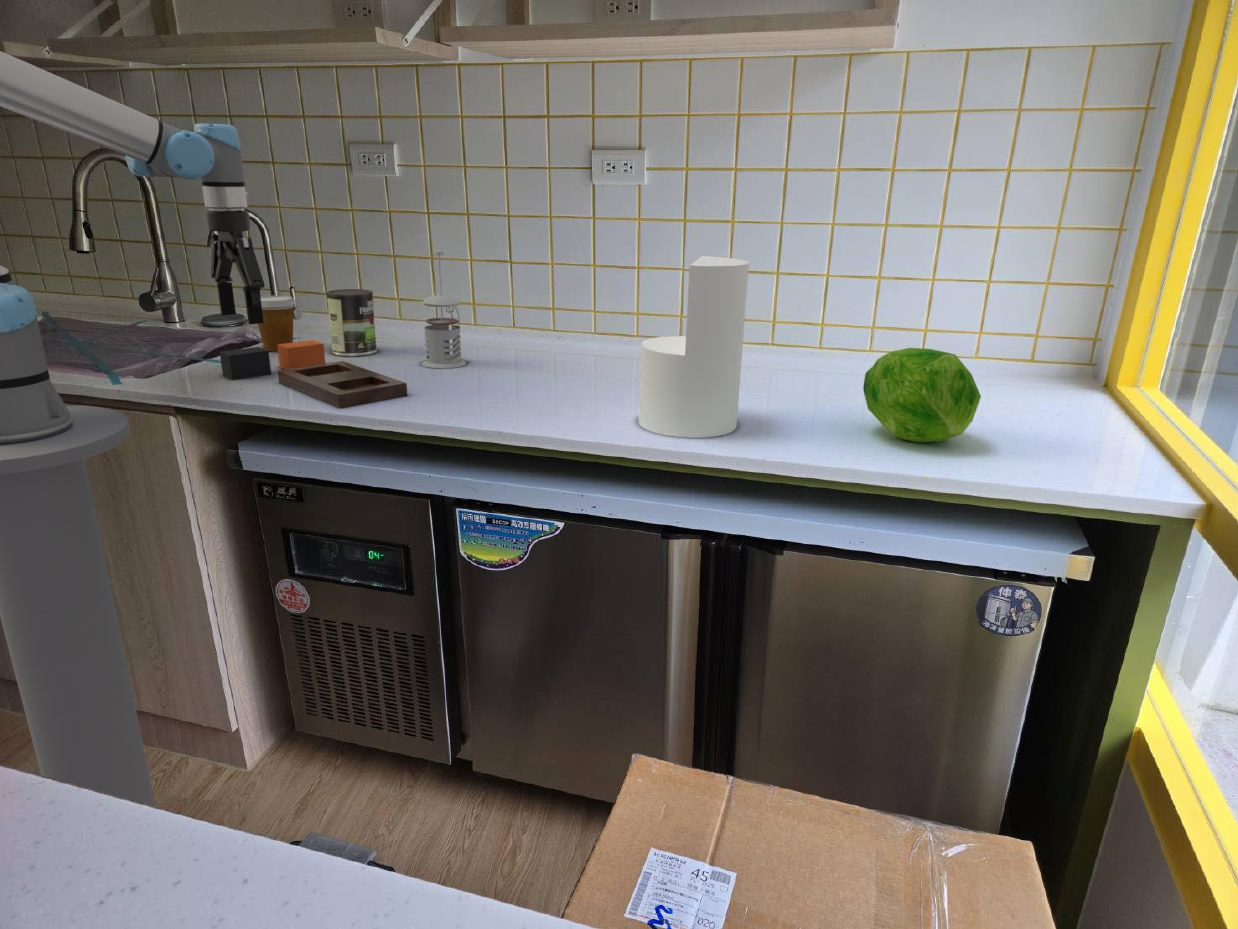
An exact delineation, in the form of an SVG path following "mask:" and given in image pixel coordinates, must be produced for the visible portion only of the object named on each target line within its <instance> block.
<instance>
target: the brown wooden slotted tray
mask: <svg viewBox="0 0 1238 929" xmlns="http://www.w3.org/2000/svg"><path fill="white" fill-rule="evenodd" d="M277 376H278V383H279V384H281V385H283V386H286V387H288V388H290V389H293V390H294V391H295V390H296V391H298V392H300V393H302V394H304V395H307V396H310V397H312V398H315V399H317V400H318V401H321V402H324V403H327V404H329V405H330V406H331V405H332V406H334V407H336V408H337V409H343V408H348V407H352V406H353V407H354V406H358V405H364V404H365V405H366V404H370V403H376V402H381V401H385V400H390V399H391V400H392V399H398V398H401V397H406V396H407V397H408V384H407V382H405V381H402V380H399V379H396V378H393V377H391V376H387V375H384V374H381V373H379V372H376V371H373V370H371V369H367V368H364V367H361V366H358V365H355V364H352V363H349V362H346V361H344V360H341V361H335V362H325V364H319V365H313V366H306V367H299V368H292V369H278V370H277Z"/></svg>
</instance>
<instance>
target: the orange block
mask: <svg viewBox="0 0 1238 929" xmlns="http://www.w3.org/2000/svg"><path fill="white" fill-rule="evenodd" d="M324 345H325V344H324V343H323V342H321V341H318V340H314V339H310V340H303V341H293V343H285V344H277V346H278V352H277V355H278V362H279V368H281V369H282V370H285V369H292V368H299V367H306V366H313V365H319V364H326V355H325V346H324Z"/></svg>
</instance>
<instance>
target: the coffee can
mask: <svg viewBox="0 0 1238 929" xmlns="http://www.w3.org/2000/svg"><path fill="white" fill-rule="evenodd" d="M373 295H374V293H373V291H372V290H370V289H359V288H346V289H345V288H343V289H341V288H340V289H333V290H327V291H326V292H325V296H326V300H327V312H328V324H329V332H330V345H331V353H332V355H335V356H340V357H363V356H370V355H373V354H377V352H378V350H377V349H378V348H377V338H376V323H375V310H374V296H373Z"/></svg>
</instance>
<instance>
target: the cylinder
mask: <svg viewBox="0 0 1238 929" xmlns="http://www.w3.org/2000/svg"><path fill="white" fill-rule="evenodd" d="M749 265H750V262H749V261H747V260H745V259H739V258H733V257H732V258H731V257H723V256H710V255H702V256H700V257H698V258H697V259H696V260H695V261H694V262H692V263H691V264H690V265H689V267H688V268H689V271H688V288H687V289H688V290H687V306H686V307H687V310H686V312H687V313H686V327H685V328H686V329H685V335H670V336H669V335H668V336H658V337H651V338H648V339H644V340H643V341H642V342H641V343H640V370H639V398H638V400H639V401H638V402H639V403H638V424H639V425H640V427H641V428H643V429H644V430H647V431H649V432H652V433H655V434H658V435H662V436H663V435H664V436H667V437H675V438H688V439H703V438H704V439H705V438H714V437H720V436H724V435H729V434H730V433H732V432H734V431H735V430H736V429H737V426H738V425H737V424H738V414H739V399H740V386H741V372H742V358H743V345H744V335H745V334H744V333H745V321H746V307H747V294H748V280H749V269H750V268H749V267H750V266H749Z"/></svg>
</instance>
